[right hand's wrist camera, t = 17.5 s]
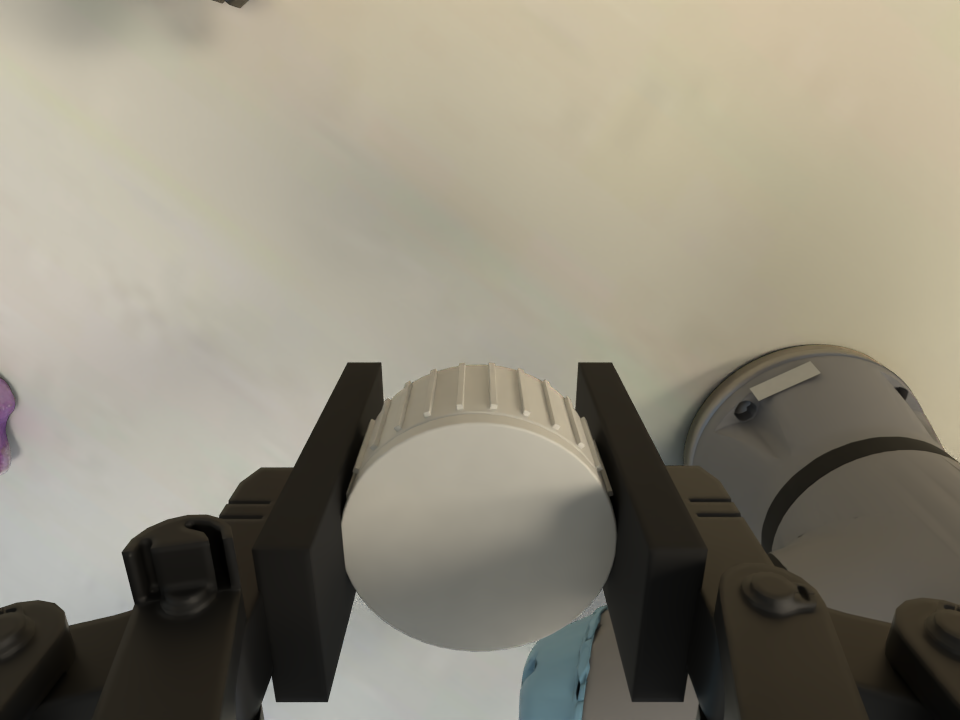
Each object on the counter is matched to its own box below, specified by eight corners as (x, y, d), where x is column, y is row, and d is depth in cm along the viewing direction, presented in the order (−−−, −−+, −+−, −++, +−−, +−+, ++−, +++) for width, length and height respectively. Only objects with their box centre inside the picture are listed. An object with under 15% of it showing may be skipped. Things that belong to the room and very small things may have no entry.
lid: (362, 561, 13) (338, 651, 11) (357, 353, 12) (328, 411, 9) (582, 569, 13) (603, 660, 11) (610, 364, 12) (641, 425, 10)
